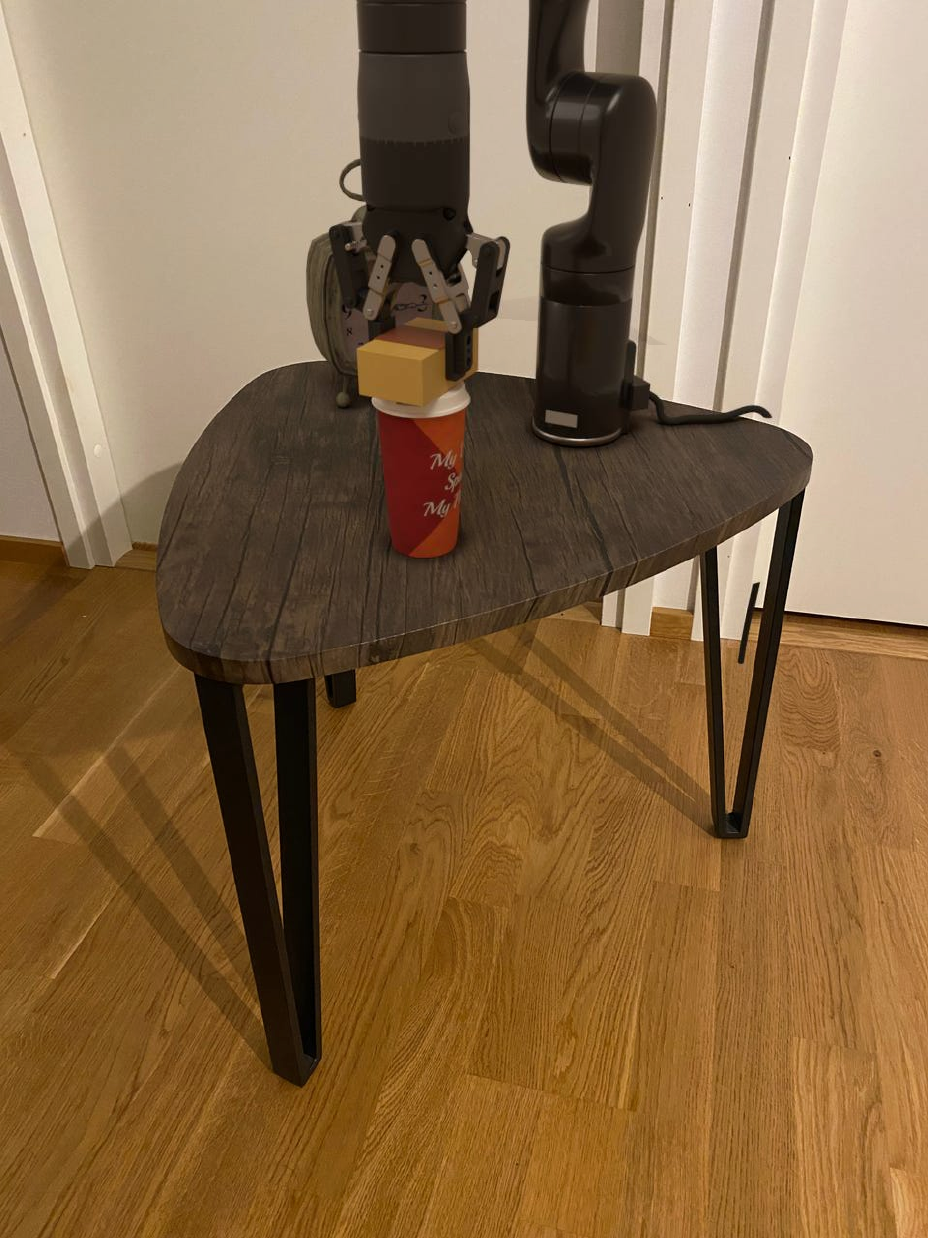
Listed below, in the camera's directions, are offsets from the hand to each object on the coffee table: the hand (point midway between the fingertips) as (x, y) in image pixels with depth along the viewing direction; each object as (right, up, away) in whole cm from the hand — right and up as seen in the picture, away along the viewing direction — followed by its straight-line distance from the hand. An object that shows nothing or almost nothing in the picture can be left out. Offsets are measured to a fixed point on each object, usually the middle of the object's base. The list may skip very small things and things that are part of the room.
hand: (420, 371), depth 75 cm
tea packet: (0, -1, 0) cm, 1 cm away
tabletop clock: (-6, +7, +38) cm, 39 cm away
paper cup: (0, -13, +8) cm, 15 cm away
